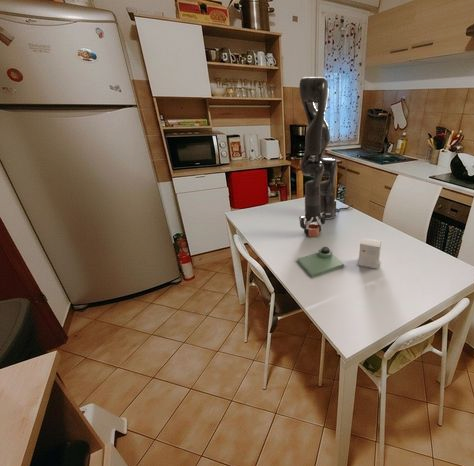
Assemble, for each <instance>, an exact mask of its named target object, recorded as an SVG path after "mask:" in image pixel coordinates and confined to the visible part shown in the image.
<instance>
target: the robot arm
mask: <svg viewBox="0 0 474 466" xmlns="http://www.w3.org/2000/svg"><path fill="white" fill-rule="evenodd" d="M298 88H299V95H300V99H301V103H302V106H303V109H304V112H305V117H306V120H307V121H306V122H307V126H308V128H307V129H306V133H305V137H304V138H305V141H304V143H305V145H304V153H303V157H302V160H301V164H300V171H301V174H302V175H303V176H306V177H313V178H314V179H313V180H311V179H310V180H307V181H306V182H305V183H304V215H303V216H301V215H300V216H299V217H298V219H299V227H300V228H301V229H302V230H303V234H304V235H306V236H308V227H309V225H310V224H314V223H317V225H318V226H319V233H321V232H322V225H325V223H326V220H332V219H334V218H336V217H337V213H339V212H340V211H341V210H348V209H350V208H351V207H354V205H353V204H350V205H349V206H348V207H340V208H337V200H336V185H337V184H336V183H337V171H338V162H337V159H332V158H324V157H323V154H324V152H325V150H326V149H327V148H328V146H329V144H330V142H331V135H330V128H329V125H328V123H327V121H326V120H325V117H326V112H327V111H326V110H327V104H328V99H329V83H328V80H327V78H326V77H325V76H304V77H302V78H301V79H300V81H299V87H298ZM315 104H317V107H316V105H315ZM313 157H314V160H312V158H313ZM323 177H328V179H326V180H323V181H322V179H323Z"/></svg>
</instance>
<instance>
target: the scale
mask: <svg viewBox="0 0 474 466" xmlns="http://www.w3.org/2000/svg"><path fill="white" fill-rule="evenodd" d="M322 248H323V247H321V248H319V249H318V250H317V252H316V253H311V254H308V255H305V256H302V257H298V258H297V262H298V263H299V265H300V266H301V267H302V269H304V270H305V271H306V273H307V274H309V276H310V277H311V278H314V277H319V276H320V275H323V274H326V273H329V272H332V271H335V270H338V269H341V268H343V267H345V266H344V265H345V264H344V262H342V261H341V260H340V259H339V258H338V257H336V256H335V254H333V250H332V249H331V248H329V253H327V254H323V253H322Z"/></svg>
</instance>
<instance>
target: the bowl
mask: <svg viewBox="0 0 474 466" xmlns="http://www.w3.org/2000/svg"><path fill="white" fill-rule="evenodd" d="M319 234H320V232H319V226H318V224H316V223H311V224H310V225H309V227H308V235H307V237H309V238H317V237H319Z"/></svg>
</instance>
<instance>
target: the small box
mask: <svg viewBox="0 0 474 466" xmlns="http://www.w3.org/2000/svg"><path fill="white" fill-rule="evenodd" d="M381 249H382V240H378V239H372V238H366V237H362V239H361V241H360V243H359V253H358V266H361V267H367V268H372V269H377V270H378V267H379V263H380V257H381Z"/></svg>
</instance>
